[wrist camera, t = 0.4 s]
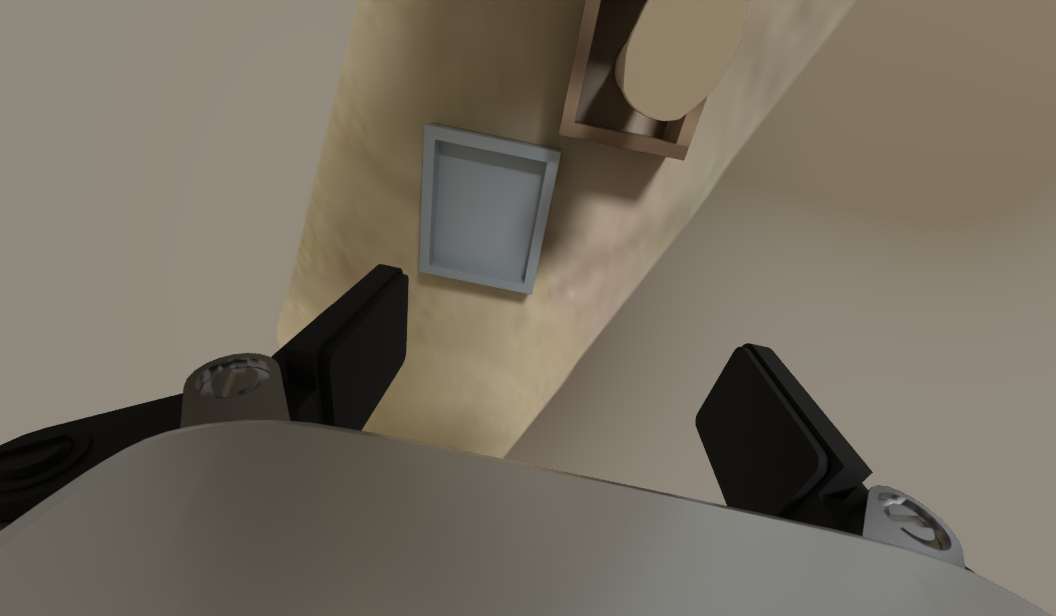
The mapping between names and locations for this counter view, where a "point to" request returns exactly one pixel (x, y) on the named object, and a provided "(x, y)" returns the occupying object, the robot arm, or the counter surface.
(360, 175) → the counter surface
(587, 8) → the holder
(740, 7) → the handle
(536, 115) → the counter surface
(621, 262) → the counter surface
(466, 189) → the tray
